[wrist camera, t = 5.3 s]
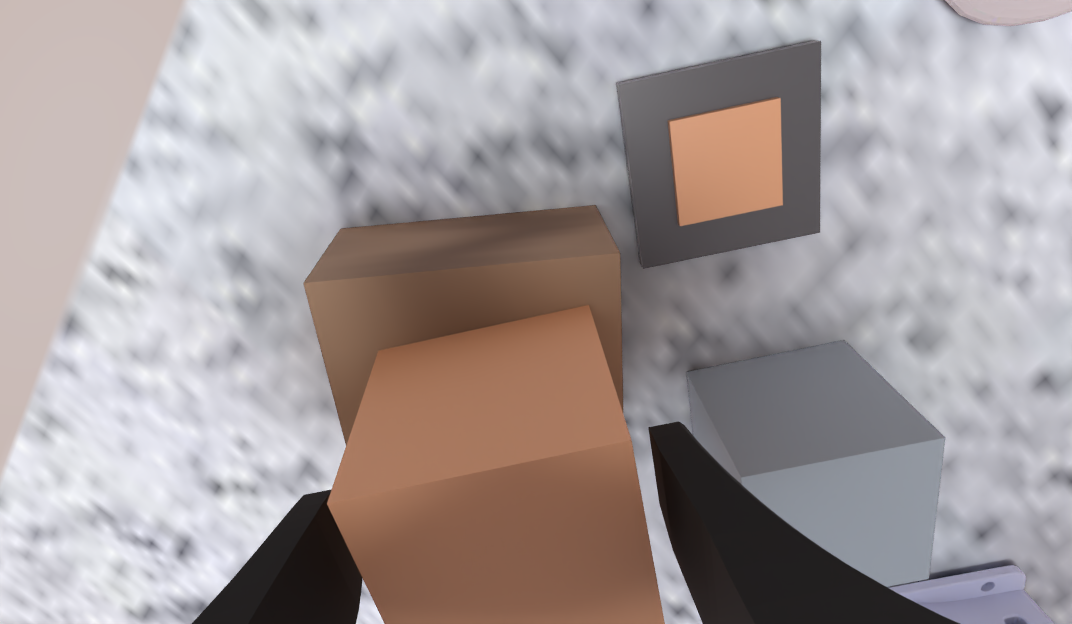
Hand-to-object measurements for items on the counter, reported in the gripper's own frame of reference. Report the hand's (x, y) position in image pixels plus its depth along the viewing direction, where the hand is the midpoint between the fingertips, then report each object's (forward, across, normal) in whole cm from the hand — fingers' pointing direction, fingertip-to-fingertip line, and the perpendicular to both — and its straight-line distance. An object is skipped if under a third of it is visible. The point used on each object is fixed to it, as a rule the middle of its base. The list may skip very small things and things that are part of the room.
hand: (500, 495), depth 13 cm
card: (+7, -7, -4) cm, 10 cm away
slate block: (+7, -8, +5) cm, 12 cm away
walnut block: (+7, 0, 0) cm, 7 cm away
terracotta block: (+3, 0, 0) cm, 3 cm away
